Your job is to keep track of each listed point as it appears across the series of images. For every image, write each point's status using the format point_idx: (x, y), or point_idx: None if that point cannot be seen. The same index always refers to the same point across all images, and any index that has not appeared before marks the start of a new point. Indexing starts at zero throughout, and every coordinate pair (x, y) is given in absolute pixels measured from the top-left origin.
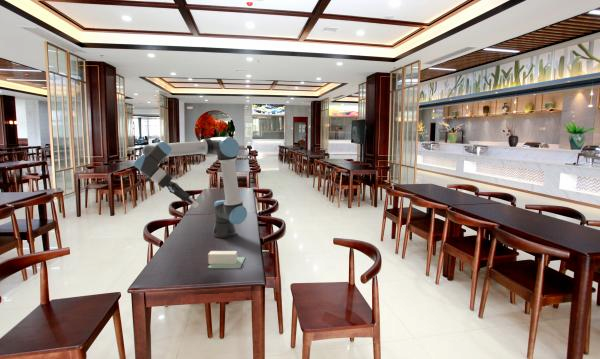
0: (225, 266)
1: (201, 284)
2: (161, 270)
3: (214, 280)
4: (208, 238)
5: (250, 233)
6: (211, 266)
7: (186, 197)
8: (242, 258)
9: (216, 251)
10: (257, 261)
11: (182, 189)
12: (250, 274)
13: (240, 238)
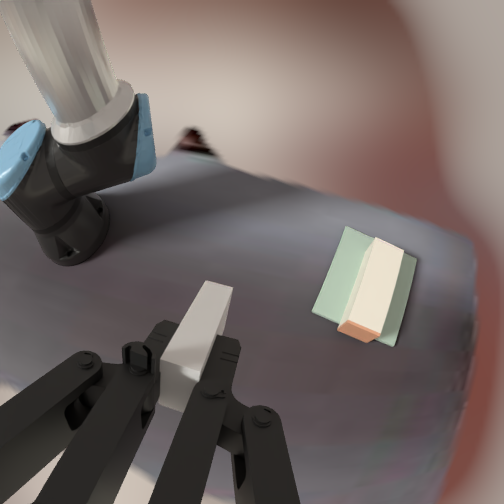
0: (403, 294)
1: (473, 367)
2: (345, 485)
3: (463, 335)
4: (80, 287)
5: None
6: (391, 335)
7: (281, 423)
8: (355, 235)
9: (360, 302)
10: (375, 207)
11: (4, 423)
12: (448, 247)
13: (144, 194)
